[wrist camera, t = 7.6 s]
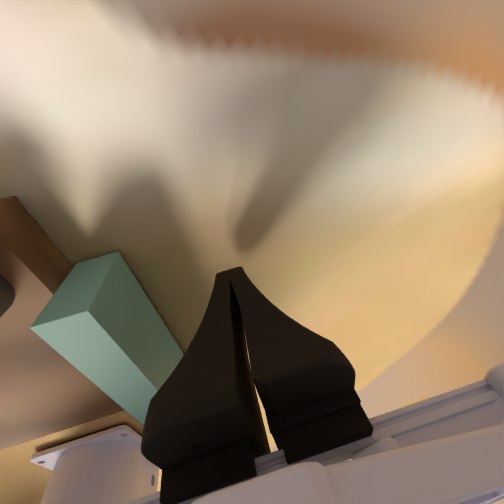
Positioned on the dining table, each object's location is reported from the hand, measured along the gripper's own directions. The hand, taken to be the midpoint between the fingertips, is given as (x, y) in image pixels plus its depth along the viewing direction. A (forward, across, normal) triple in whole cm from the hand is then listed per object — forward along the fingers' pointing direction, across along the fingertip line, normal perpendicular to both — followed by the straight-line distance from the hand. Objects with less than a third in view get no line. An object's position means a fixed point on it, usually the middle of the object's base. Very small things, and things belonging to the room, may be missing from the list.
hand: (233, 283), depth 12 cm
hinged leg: (+1, +6, +3) cm, 7 cm away
